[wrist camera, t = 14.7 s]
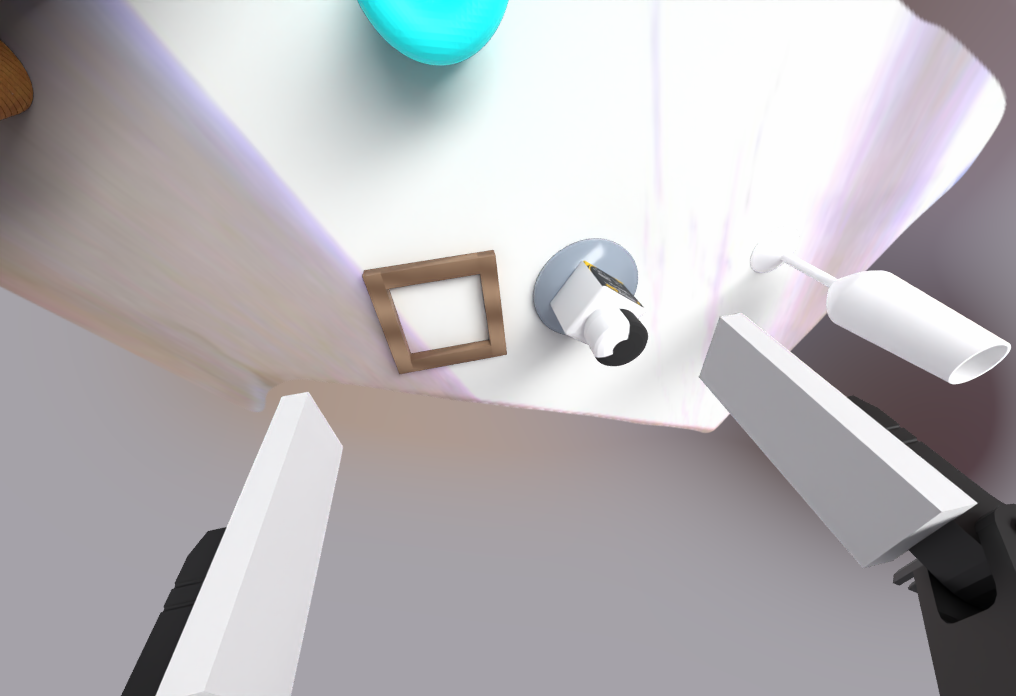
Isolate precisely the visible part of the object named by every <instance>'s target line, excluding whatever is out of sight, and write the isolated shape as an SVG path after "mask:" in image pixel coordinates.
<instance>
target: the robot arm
mask: <svg viewBox="0 0 1016 696" xmlns="http://www.w3.org/2000/svg"><path fill="white" fill-rule="evenodd" d="M699 378H700V379H701V380H702V381H703V382H704V384H705V385H706V386H707V387H708V388H709V389H710V391H711V392H712V393H713V394H714V395H715V396H716V398H717V399H718V400H719V401H720V402H721V403H722V405H723V406H724V407H725V408H726V409H727V410H728V412H729V413H730V414H731V415H732V416H733V417H734V419H735V420H736V421H737V422H738V423H739V424H740V426H741V427H742V428H743V429H744V430H745V431H746V433H748V435H749V436H750V437H751V438H752V440H753V441H754V442H755V443H756V444H757V445H758V447H759V448H760V449H761V450H762V451H763V452H764V454H765V455H766V456H767V457H768V458H769V459H770V461H771V462H772V463H773V464H774V465H775V466H776V467H777V469H778V470H779V471H780V472H781V473H782V475H783V476H784V477H785V478H786V479H787V480H788V482H789V483H790V484H791V485H792V486H793V487H794V489H795V490H796V491H797V492H798V493H799V494H800V496H801V497H802V498H803V499H804V500H805V501H806V503H807V504H808V505H809V506H810V507H811V508H812V510H813V511H814V512H815V513H816V514H817V515H818V517H819V518H820V519H821V520H822V521H823V522H824V524H825V525H826V526H827V527H828V528H829V529H830V531H831V532H832V533H833V534H834V535H835V536H836V538H837V539H838V540H839V541H840V542H841V543H842V545H843V546H844V547H845V548H846V549H847V550H848V552H849V553H850V554H851V555H852V556H853V557H854V558H855V560H856V561H857V562H858V563H859V564H860V566H861V567H862V568H867V567H871V566H875V565H879V564H882V563H886V562H890V561H893V560H894V559H896V558H897V557H899V556H900V555H902V554H903V553H905V552H906V551H908V550H909V551H910V552H911V553H912V554H913V555H914V556H915V557H916V558H917V559H915V560H914V561H912V562H910V563H909V564H907V565H906V566H904V567H903V568H901V569H900V570H898V571H897V572H896V573H895V574H894V578H893V583H895V584H897V585H901V584H903V583H904V582H906V581H908V580H909V579H911V578H913V577H914V579H915V581H914V582H913V583H911V584H910V586H909V587H908V589H909V590H911V591H914V592H916V593H918V597H919V601H920V606H921V611H922V615H923V620H924V625H925V629H926V634H927V638H928V642H929V647H930V652H931V656H932V661H933V665H934V670H935V675H936V679H937V684H938V688H939V693H940V696H1016V504H1007V505H1006V504H1004V503H1002V502H1001V501H999V500H997V499H996V498H995V497H993V496H992V495H990V494H988V493H987V492H986V491H985V490H983V489H982V488H981V487H980V486H978V485H977V484H976V483H974V482H973V481H972V480H970V479H969V478H968V477H967V476H965V475H964V474H963V473H961V472H960V471H959V470H957V469H956V468H955V467H954V466H952V465H951V464H950V463H948V462H947V461H946V460H945V459H943V458H942V457H941V456H939V455H938V454H937V453H936V452H934V451H933V450H932V449H930V448H929V447H928V446H927V445H925V444H924V443H923V442H919V441H917V438H916V437H915V436H914V435H912V434H911V433H910V432H908V431H907V430H906V429H905V428H900V427H899V424H898V423H897V422H896V421H894V420H893V419H892V418H890V417H889V416H888V415H886V414H885V413H884V412H883V411H881V410H880V409H879V408H877V407H875V406H873V405H871V404H869V403H867V402H865V401H863V400H861V399H859V398H857V397H855V396H849V397H845V396H844V395H843V394H842V393H840V392H839V391H838V390H837V389H836V388H834V387H833V386H832V385H831V384H829V383H828V382H827V381H826V380H824V379H823V378H822V377H821V376H819V375H818V374H817V373H816V372H814V371H813V370H812V369H811V368H809V367H808V366H807V365H806V364H805V363H803V362H802V361H801V360H800V359H798V358H797V357H796V356H795V355H793V354H792V353H791V352H790V351H788V350H787V349H786V348H785V347H783V346H782V345H781V344H780V343H779V342H777V341H776V340H775V339H774V338H772V337H771V336H770V335H769V334H767V333H766V332H765V331H764V330H762V329H761V328H760V327H759V326H757V325H756V324H755V323H754V322H752V321H751V320H750V319H749V318H747V317H746V316H745V315H744V314H743V313H737V314H732V315H726V316H721V317H720V318H719V321H718V323H717V326H716V329H715V332H714V335H713V338H712V341H711V344H710V347H709V350H708V352H707V355H706V358H705V361H704V364H703V367H702V370H701V373H700V376H699ZM342 450H343V446H342V444H341V443H340V441H339V440H338V438H337V436H336V435H335V433H334V432H333V430H332V428H331V427H330V425H329V424H328V422H327V420H326V419H325V417H324V416H323V414H322V413H321V411H320V409H319V408H318V406H317V405H316V403H315V401H314V400H313V398H312V397H311V395H310V394H309V392H305V393H300V394H294V395H289V396H283V397H282V398H281V400H280V403H279V405H278V408H277V410H276V412H275V414H274V417H273V419H272V421H271V424H270V426H269V429H268V431H267V433H266V436H265V438H264V440H263V443H262V445H261V447H260V450H259V452H258V455H257V457H256V459H255V462H254V464H253V467H252V469H251V471H250V474H249V476H248V478H247V481H246V483H245V485H244V488H243V490H242V492H241V495H240V497H239V500H238V502H237V504H236V507H235V509H234V512H233V514H232V516H231V518H230V521H229V523H228V526H227V527H225V528H220V529H216V530H212V531H208V532H207V533H206V534H205V535H204V537H203V538H202V539H201V540H200V541H199V543H198V544H197V545H196V546H195V548H194V549H193V550H192V551H191V553H190V554H189V555H188V557H187V558H186V561H185V563H184V565H183V567H182V569H181V571H180V573H179V575H178V577H177V579H176V582H175V588H174V589H172V590H171V592H170V594H169V597H168V599H167V600H166V603H165V605H164V611H163V612H161V613H160V615H159V617H158V620H157V622H156V624H155V626H154V628H153V630H152V632H151V634H150V636H149V638H148V640H147V642H146V645H145V647H144V649H143V651H142V653H141V655H140V657H139V659H138V661H137V664H136V666H135V668H134V670H133V672H132V674H131V676H130V678H129V680H128V682H127V684H126V686H125V689H124V691H123V693H122V695H121V696H291V692H292V688H293V683H294V678H295V673H296V669H297V664H298V659H299V654H300V649H301V645H302V639H303V635H304V630H305V626H306V621H307V616H308V611H309V607H310V602H311V597H312V592H313V588H314V583H315V578H316V574H317V569H318V564H319V559H320V555H321V550H322V545H323V540H324V536H325V530H326V526H327V521H328V516H329V512H330V507H331V502H332V497H333V492H334V488H335V483H336V479H337V474H338V469H339V464H340V460H341V455H342Z"/></svg>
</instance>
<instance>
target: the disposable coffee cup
mask: <svg viewBox="0 0 1016 696" xmlns="http://www.w3.org/2000/svg"><path fill="white" fill-rule="evenodd" d="M32 100H33V89H32V84H31V81H30V78H29V76H28V74H27V72H26V70H25V69H24V67H23V65H22V64H21V62H20V61H19V60H18V58H17V57H16V56H15V55H14V53H13V52H12V51H11V50H10V49H9V48H8V47H7V46H6V45H5V44H4V43H3V42H2V41H1V40H0V120H2V119H4V118H8V117H10V116H14V115H17V114H20V113H22V112H24V111H25V110H27V109H28V108H29V107H30V105H31V103H32Z"/></svg>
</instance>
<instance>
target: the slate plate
mask: <svg viewBox="0 0 1016 696" xmlns="http://www.w3.org/2000/svg"><path fill="white" fill-rule="evenodd" d="M583 260H585V261H587V262H588V263H590V264H592V265H593V266H595V267H597V268H598V269H600V270H602V271H604V272H605V273H607V274H609V275H610V276H612V277H614V278H615V279H617V280H619V281H620V282H622V283H623V284H624V286H625V287H626V288H627V289H628V290H629V291H630V292H631V294H632V295H633V296H634V294H635V292H636V288H637V284H638V271H637V266H636V264H635V261H634V259H633V258H632V256H631V255H630V254H629V253H628V251H627V250H626V249H624V248H623V247H622V246H621V245H619V244H617V243H615V242H613V241H610V240H606V239H598V238H594V239H586V240H581V241H578V242H575V243H573V244H570V245H568V246H566V247H565V248H563V249H562V250H560V251H559V252H557V253H556V254H555V255H554V256H553V257H552V258H551V259H550V260H549V261H548V262H547V263H546V264H545V266H544V267H543V269H542V270H541V272H540V273H539V276H538V278H537V280H536V283H535V287H534V305H535V308H536V311H537V313H538V315H539V317H540V319H541V320H542V322H543V323H544V324H545V325H546V326H547V327H549V328H550V329H551V330H553V331H555V332H558V333H560V334H565V332H564V330H563V328H562V326H561V324H560V323H559V321H558V319H557V317H556V315H555V313H554V311H553V309H552V307H551V304H550V303H551V301H552V300H553V298H554V297H555V296H556V294H557V293H558V292H559V290H560V289H561V288H562V286H563V285H564V284H565V282H566V281H567V280H568V278H569V277H570V276H571V274H572V273H573V272H574V271H575V269H576V268H577V267H578V265H579V264H580V263H581V261H583ZM565 335H566V334H565Z"/></svg>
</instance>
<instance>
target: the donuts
mask: <svg viewBox="0 0 1016 696" xmlns="http://www.w3.org/2000/svg"><path fill="white" fill-rule="evenodd" d="M357 1H358V3H359V5H360V7H361V8H362V10H363V12H364V14H365V15H366V17H367V18H368V20H369V21H370V23H371V24H372V25H373V27H374V28H375V29H376V30H377V32H378V33H379V34H380V35H381V36H382V37H383V38H384V39H385V40H386V41H387V42H388V43H389V44H390V45H391V46H392V47H394V48H395V49H396V50H398V51H399V52H400V53H402V54H404V55H405V56H407V57H409V58H411V59H413V60H415V61H418V62H421V63H424V64H429V65H437V66H443V65H451V64H456V63H459V62H462V61H464V60H466V59H468V58H470V57H471V56H473V55H474V54H476V53H477V52H478V51H480V50H481V49H482V48H483V47H484V46H485V45H486V44H487V42H488V41H489V40H490V39H491V37H492V36H493V35H494V33H495V31H496V30H497V28H498V26H499V24H500V22H501V20H502V18H503V15H504V13H505V10H506V7H507V4H508V0H357Z"/></svg>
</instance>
